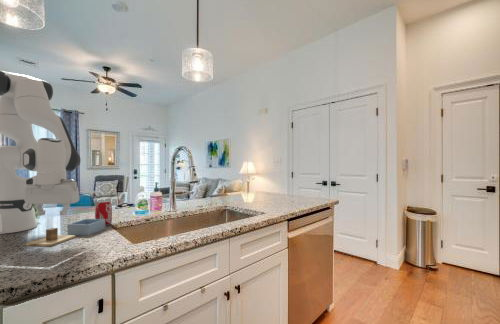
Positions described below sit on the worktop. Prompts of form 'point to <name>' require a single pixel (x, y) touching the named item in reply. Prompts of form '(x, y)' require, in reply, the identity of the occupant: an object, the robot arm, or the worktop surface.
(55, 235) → the lid
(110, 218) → the soda can
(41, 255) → the worktop surface
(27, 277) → the worktop surface
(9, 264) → the worktop surface
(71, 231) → the dish
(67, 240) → the mat
